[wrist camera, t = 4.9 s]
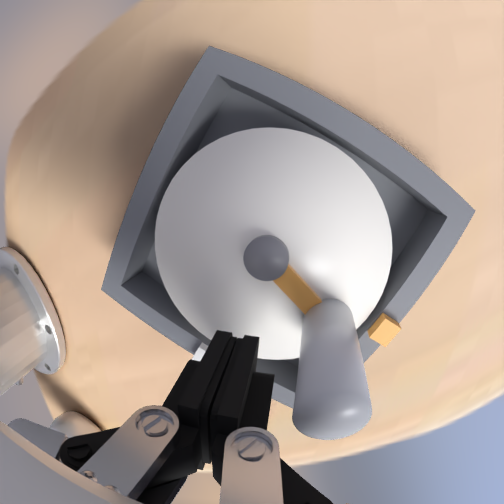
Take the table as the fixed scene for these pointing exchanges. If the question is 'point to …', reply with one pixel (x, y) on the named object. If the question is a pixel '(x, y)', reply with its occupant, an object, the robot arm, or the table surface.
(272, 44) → the table surface
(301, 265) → the white crank wheel
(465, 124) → the table surface
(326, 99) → the housing
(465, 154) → the table surface
